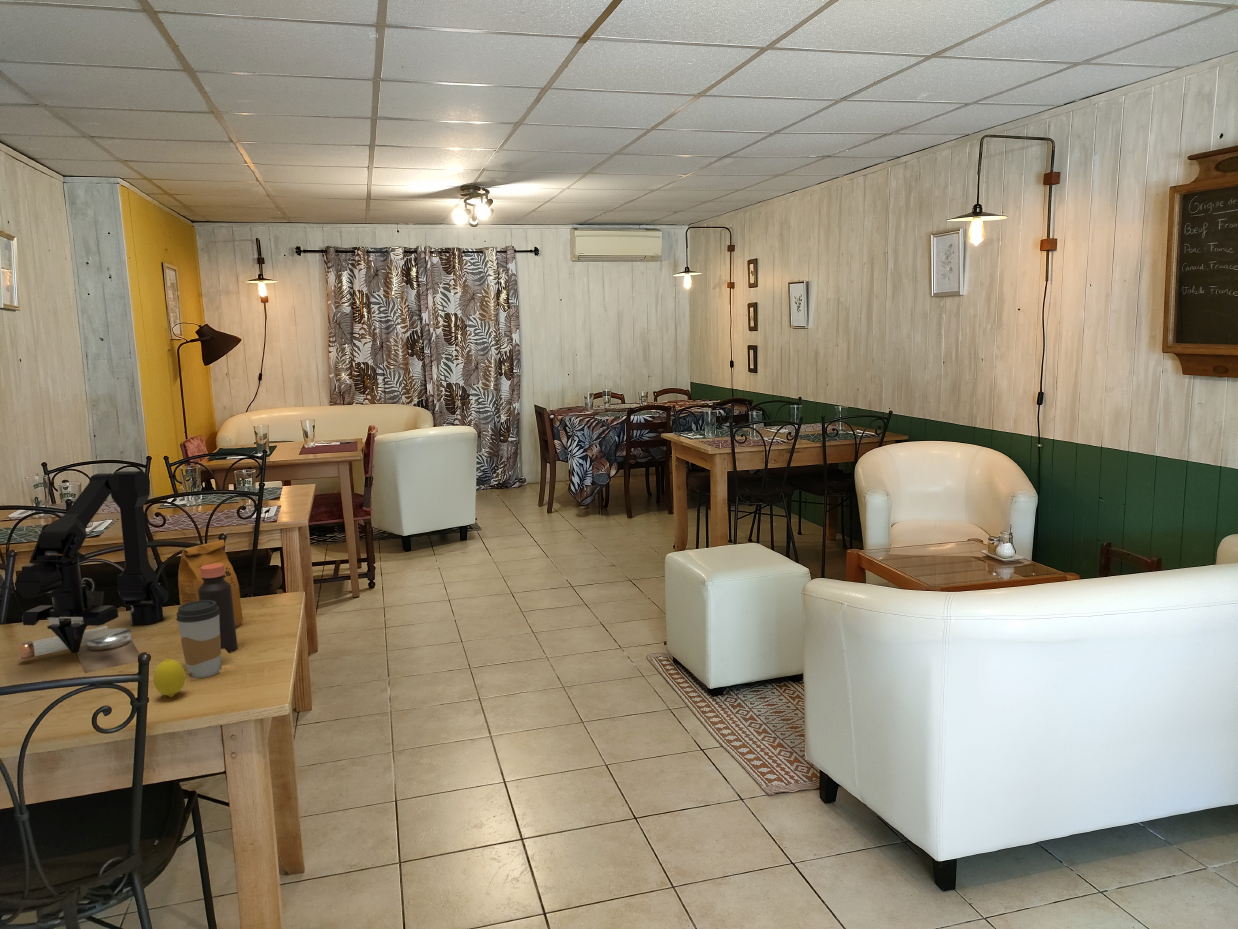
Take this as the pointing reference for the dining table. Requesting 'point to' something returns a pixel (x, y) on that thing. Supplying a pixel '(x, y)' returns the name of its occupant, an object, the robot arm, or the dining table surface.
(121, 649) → the mounting board
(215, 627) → the coffee cup
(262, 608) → the dining table surface
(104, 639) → the pizza cutter
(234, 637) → the bottle
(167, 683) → the lemon
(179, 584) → the coffee package
